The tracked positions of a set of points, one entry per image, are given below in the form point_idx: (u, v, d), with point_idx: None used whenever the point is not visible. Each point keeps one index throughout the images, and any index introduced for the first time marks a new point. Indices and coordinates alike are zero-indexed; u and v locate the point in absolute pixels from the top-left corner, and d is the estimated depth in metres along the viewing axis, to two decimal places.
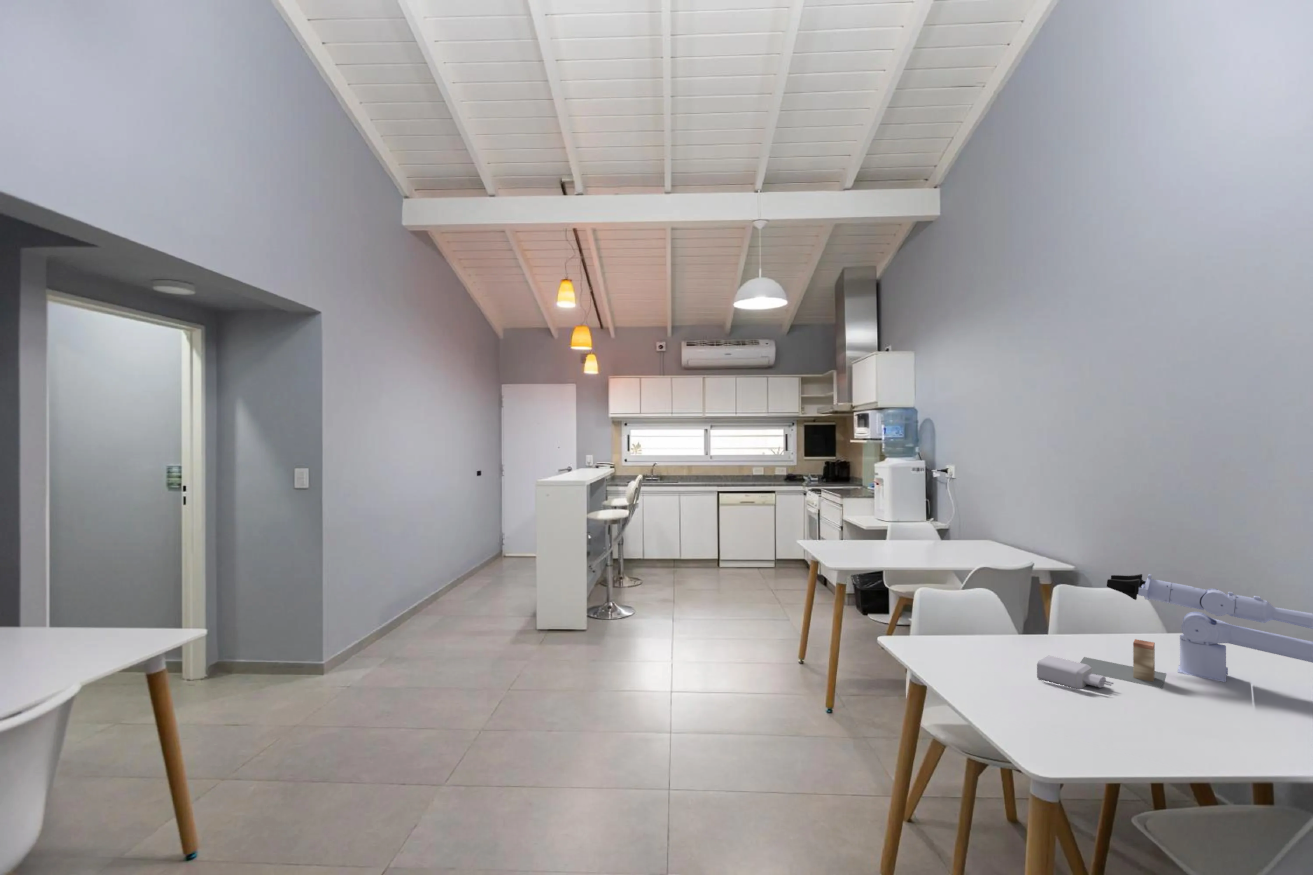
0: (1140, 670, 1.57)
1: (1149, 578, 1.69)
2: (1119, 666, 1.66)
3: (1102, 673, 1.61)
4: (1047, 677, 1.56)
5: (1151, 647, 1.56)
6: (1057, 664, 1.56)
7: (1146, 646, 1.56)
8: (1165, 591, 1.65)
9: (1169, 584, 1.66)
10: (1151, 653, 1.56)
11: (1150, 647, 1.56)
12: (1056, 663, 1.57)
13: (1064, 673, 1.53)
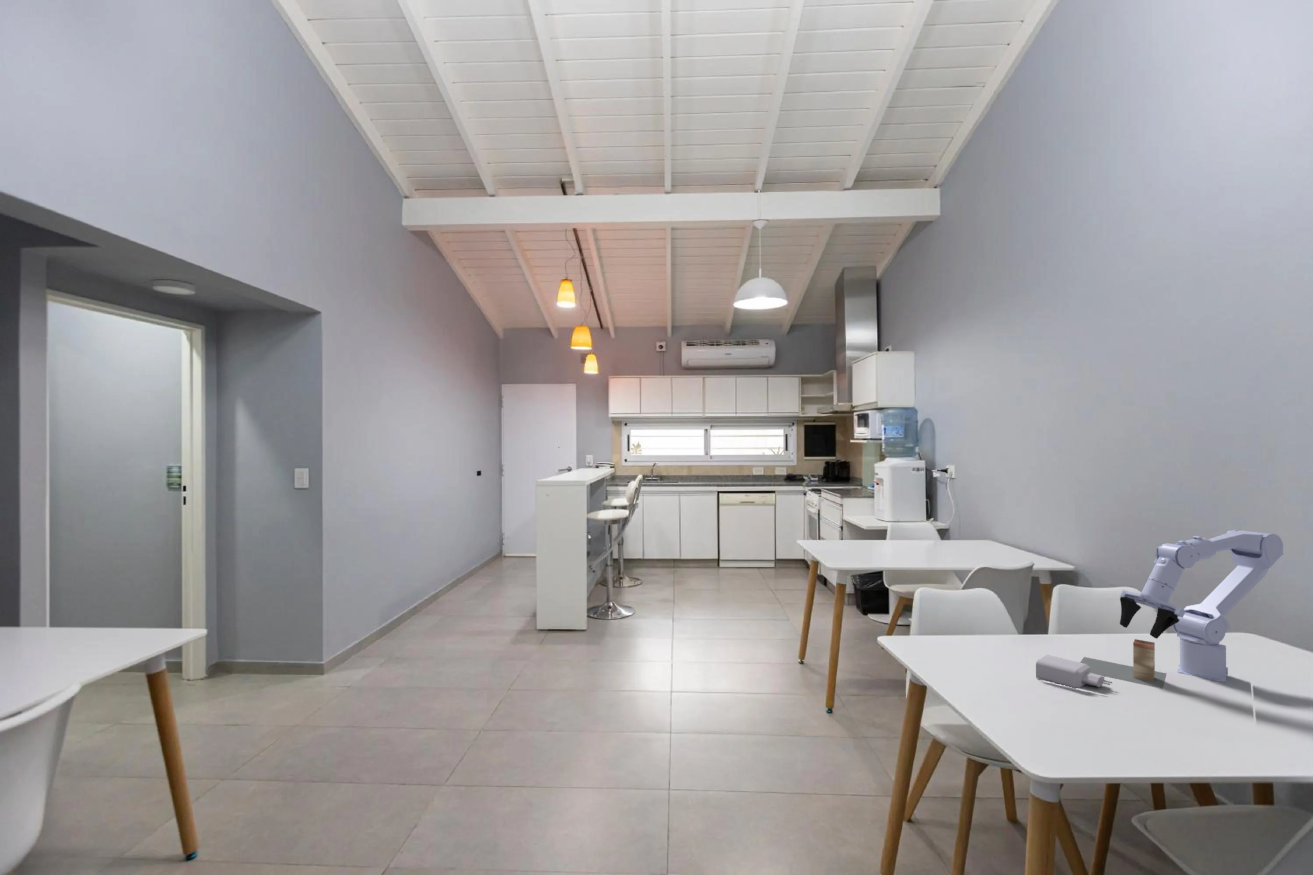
0: (1140, 670, 1.57)
1: (1150, 597, 1.59)
2: (1119, 666, 1.66)
3: (1102, 673, 1.61)
4: (1045, 676, 1.56)
5: (1151, 647, 1.56)
6: (1056, 663, 1.56)
7: (1146, 646, 1.56)
8: (1168, 590, 1.58)
9: (1159, 583, 1.59)
10: (1151, 653, 1.56)
11: (1150, 647, 1.56)
12: (1055, 662, 1.57)
13: (1063, 673, 1.53)
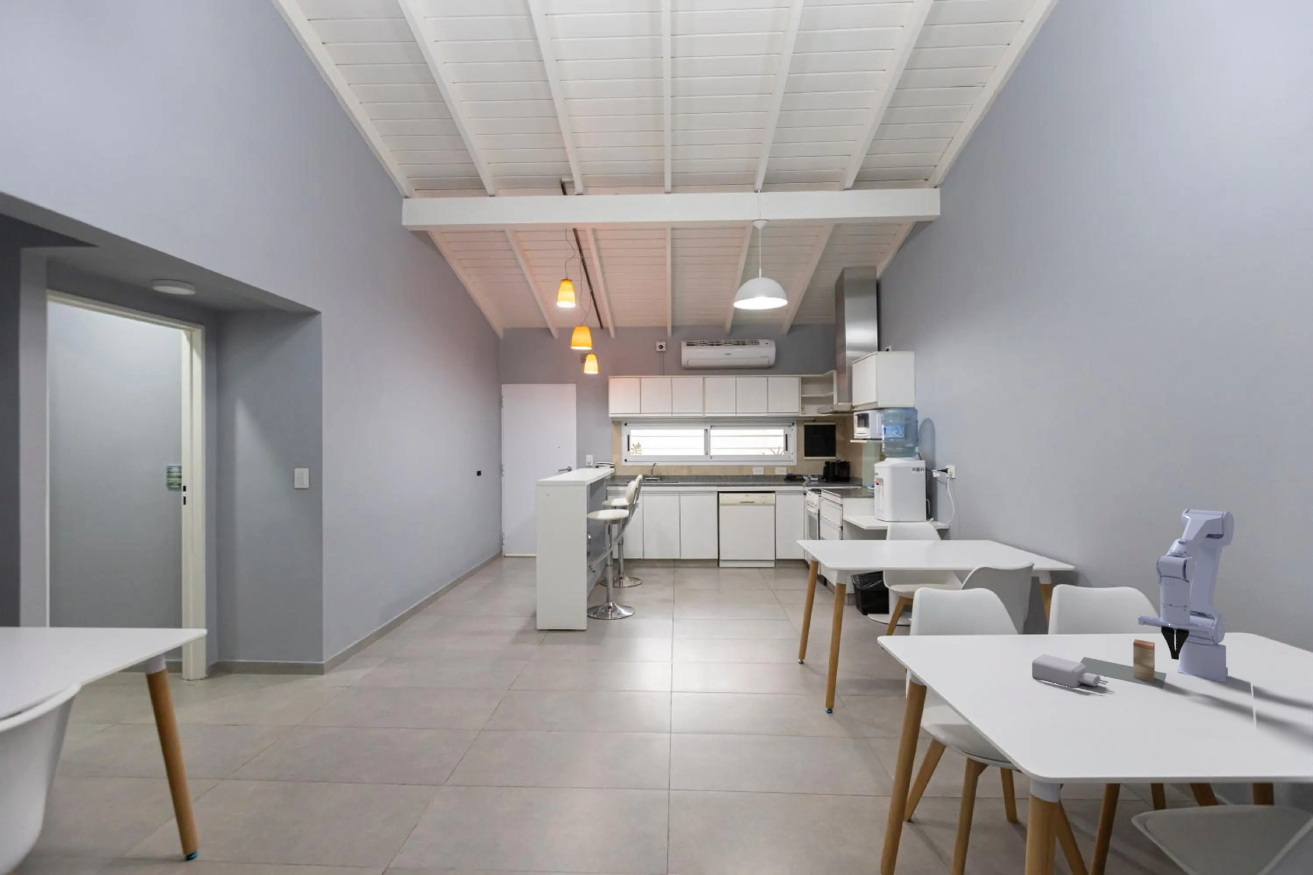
0: (1140, 670, 1.57)
1: (1180, 626, 1.51)
2: (1119, 666, 1.66)
3: (1102, 673, 1.61)
4: (1042, 675, 1.57)
5: (1151, 647, 1.56)
6: (1052, 663, 1.57)
7: (1146, 646, 1.56)
8: (1189, 610, 1.52)
9: (1181, 608, 1.52)
10: (1151, 653, 1.56)
11: (1150, 647, 1.56)
12: (1051, 662, 1.57)
13: (1059, 672, 1.54)
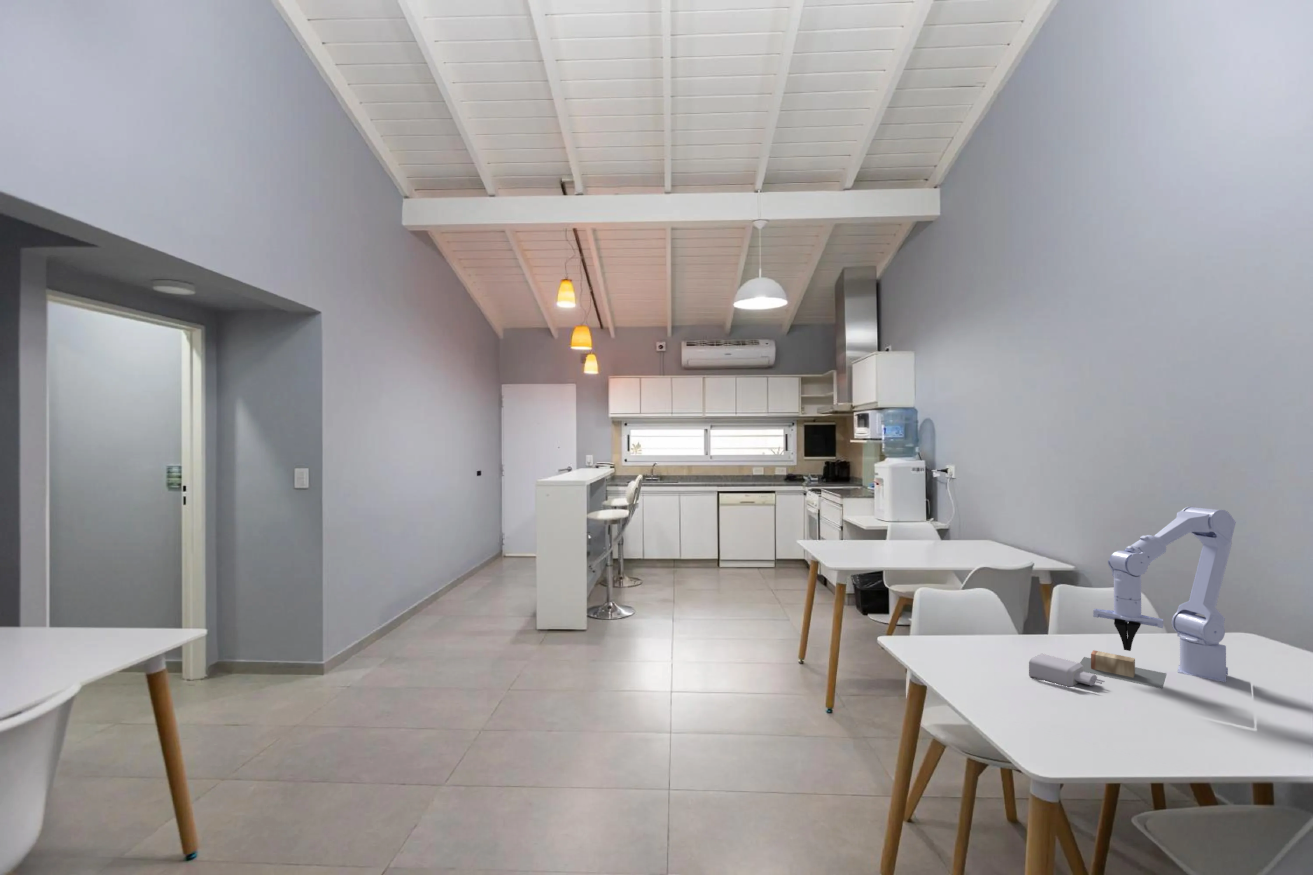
0: (1122, 669, 1.60)
1: (1131, 618, 1.58)
2: None
3: (1102, 673, 1.61)
4: (1038, 674, 1.58)
5: (1093, 655, 1.64)
6: (1049, 662, 1.57)
7: (1092, 658, 1.64)
8: (1140, 603, 1.59)
9: (1132, 601, 1.58)
10: (1099, 656, 1.63)
11: (1093, 656, 1.64)
12: (1048, 661, 1.58)
13: (1055, 671, 1.54)
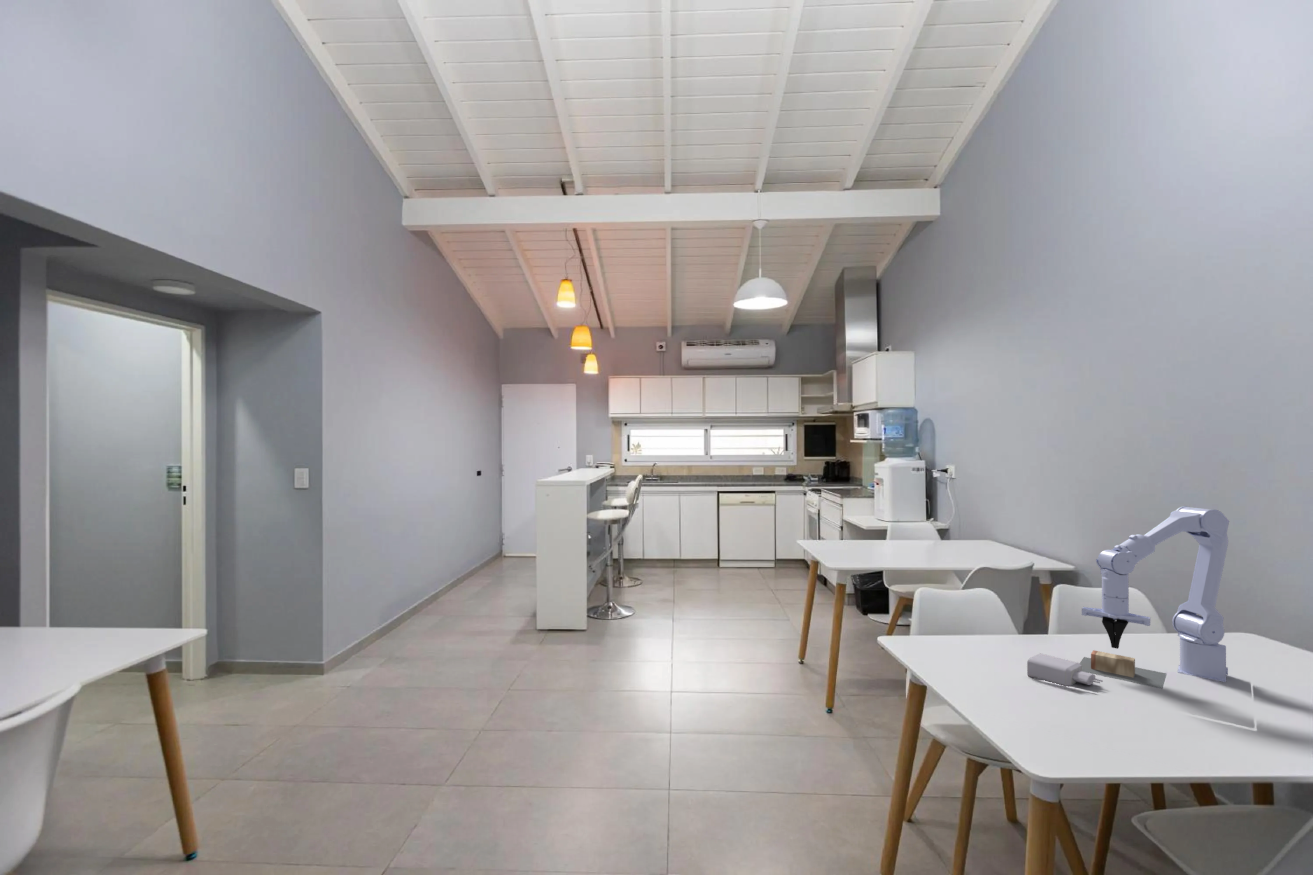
0: (1122, 669, 1.60)
1: (1118, 616, 1.60)
2: None
3: (1102, 673, 1.61)
4: (1037, 674, 1.58)
5: (1093, 655, 1.64)
6: (1047, 662, 1.58)
7: (1092, 658, 1.64)
8: (1127, 601, 1.60)
9: (1120, 599, 1.60)
10: (1099, 656, 1.63)
11: (1093, 656, 1.64)
12: (1046, 661, 1.58)
13: (1054, 671, 1.55)
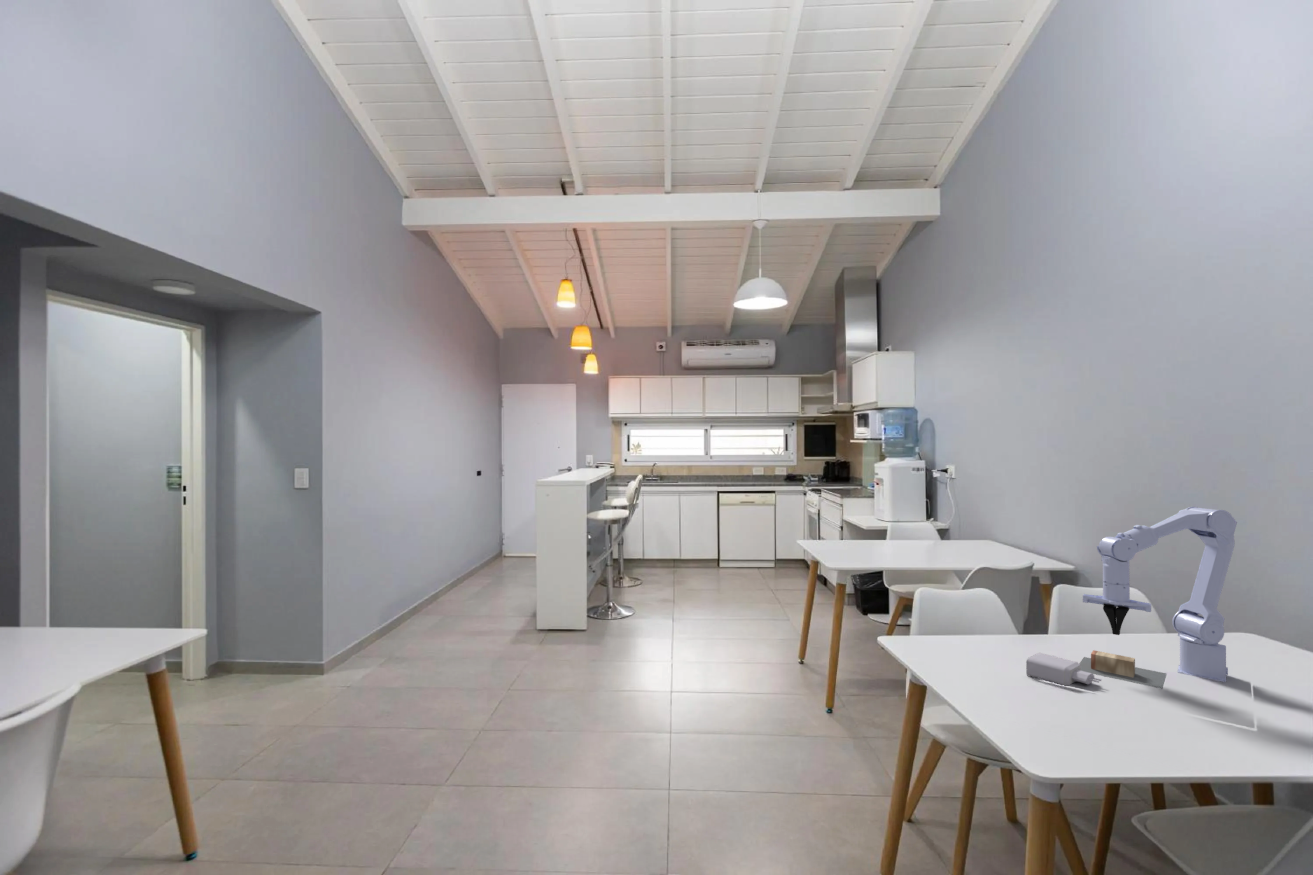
0: (1122, 669, 1.60)
1: (1119, 602, 1.60)
2: None
3: (1102, 673, 1.61)
4: (1036, 673, 1.58)
5: (1093, 655, 1.64)
6: (1046, 661, 1.58)
7: (1092, 658, 1.64)
8: (1128, 588, 1.61)
9: (1121, 586, 1.60)
10: (1099, 656, 1.63)
11: (1093, 656, 1.64)
12: (1045, 660, 1.59)
13: (1052, 670, 1.55)
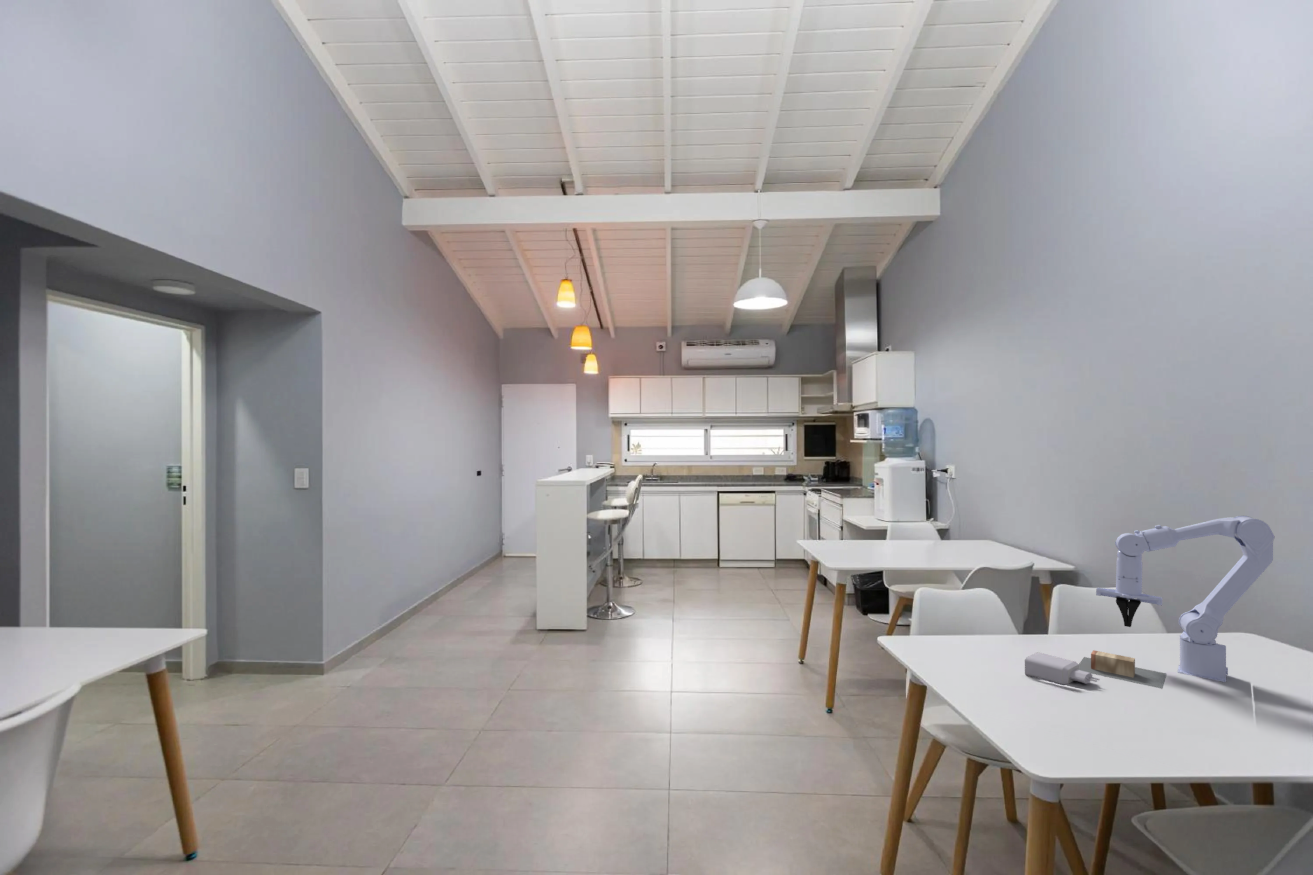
0: (1122, 669, 1.60)
1: (1132, 596, 1.67)
2: None
3: (1102, 673, 1.61)
4: (1034, 673, 1.59)
5: (1093, 655, 1.64)
6: (1044, 660, 1.59)
7: (1092, 658, 1.64)
8: (1141, 582, 1.68)
9: (1134, 580, 1.67)
10: (1099, 656, 1.63)
11: (1093, 656, 1.64)
12: (1043, 659, 1.59)
13: (1051, 670, 1.56)
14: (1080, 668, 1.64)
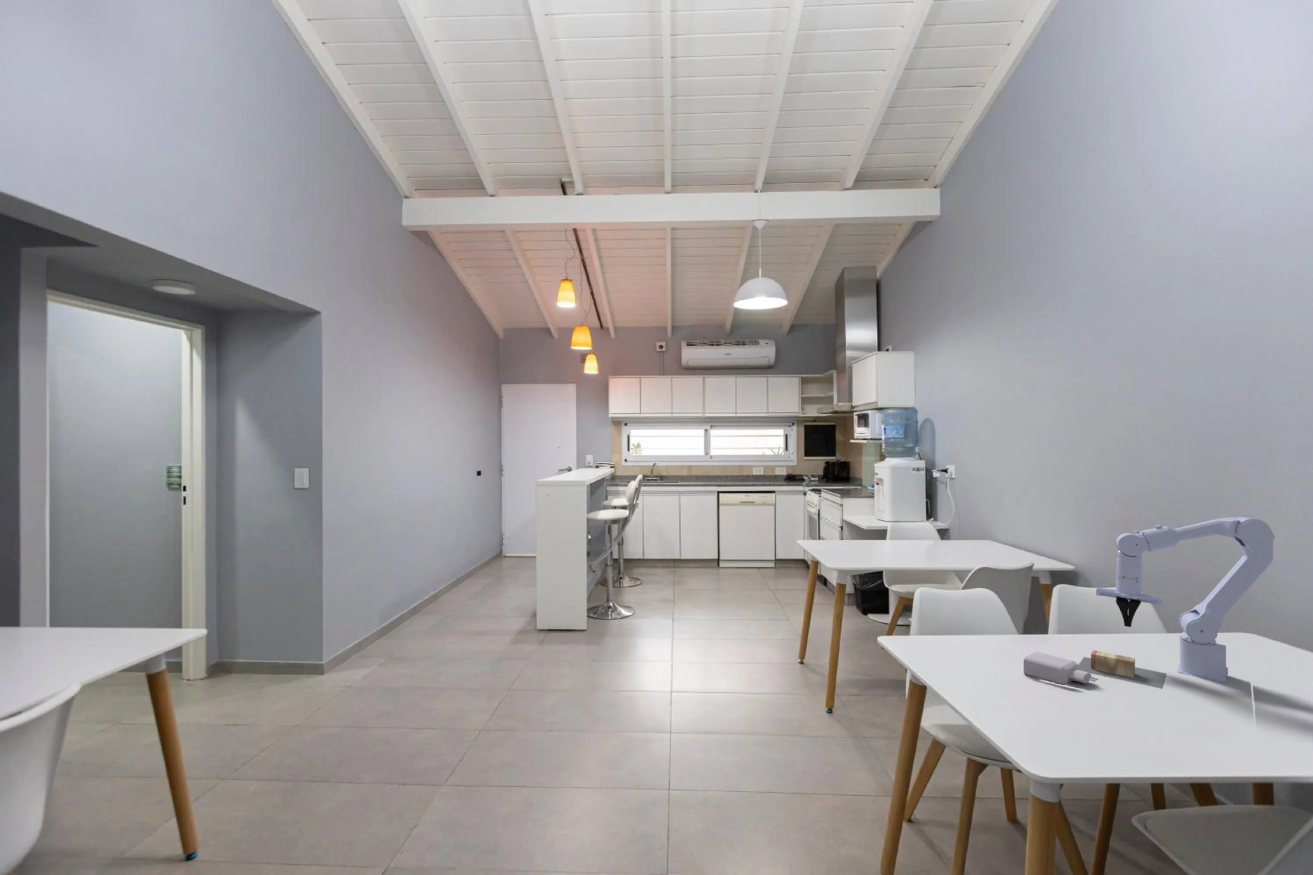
0: (1122, 669, 1.60)
1: (1132, 596, 1.67)
2: None
3: (1102, 673, 1.61)
4: (1033, 672, 1.59)
5: (1093, 655, 1.64)
6: (1043, 660, 1.59)
7: (1092, 658, 1.64)
8: (1141, 582, 1.68)
9: (1134, 580, 1.67)
10: (1099, 656, 1.63)
11: (1093, 656, 1.64)
12: (1042, 659, 1.59)
13: (1049, 669, 1.56)
14: (1080, 668, 1.64)
